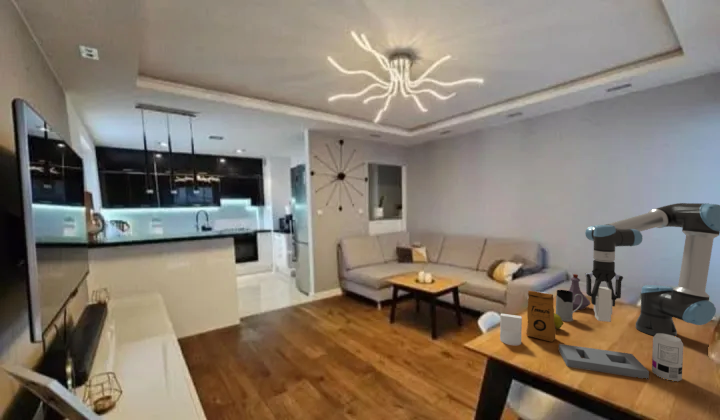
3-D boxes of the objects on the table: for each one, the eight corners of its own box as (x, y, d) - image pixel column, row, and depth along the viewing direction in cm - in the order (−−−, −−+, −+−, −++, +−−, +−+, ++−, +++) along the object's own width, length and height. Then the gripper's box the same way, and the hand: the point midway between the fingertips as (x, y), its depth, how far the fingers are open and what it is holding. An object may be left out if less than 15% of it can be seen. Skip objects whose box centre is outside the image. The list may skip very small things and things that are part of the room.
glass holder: (551, 315, 181) (552, 289, 180) (577, 315, 180) (577, 289, 179) (560, 321, 172) (561, 294, 171) (587, 321, 171) (588, 294, 171)
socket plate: (631, 360, 131) (631, 353, 131) (648, 379, 118) (649, 371, 117) (558, 350, 140) (558, 343, 140) (567, 366, 127) (567, 359, 127)
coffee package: (553, 345, 145) (554, 297, 144) (524, 337, 153) (524, 292, 152) (557, 337, 153) (558, 292, 152) (529, 330, 161) (529, 287, 160)
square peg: (606, 318, 142) (607, 287, 141) (610, 322, 138) (611, 290, 137) (594, 317, 143) (595, 286, 143) (598, 320, 139) (599, 289, 138)
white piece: (520, 338, 151) (521, 314, 151) (521, 346, 143) (522, 320, 143) (500, 335, 155) (500, 311, 155) (499, 343, 147) (500, 317, 146)
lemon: (566, 329, 161) (566, 314, 161) (559, 333, 157) (560, 317, 156) (543, 322, 170) (543, 308, 170) (536, 326, 165) (536, 311, 165)
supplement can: (645, 370, 123) (647, 333, 123) (665, 369, 124) (666, 332, 123) (667, 383, 115) (669, 342, 115) (688, 381, 116) (690, 341, 115)
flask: (566, 311, 187) (567, 277, 186) (554, 301, 203) (554, 271, 202) (597, 312, 184) (598, 278, 184) (582, 303, 201) (583, 272, 200)
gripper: (582, 260, 139) (581, 313, 140) (632, 263, 133) (631, 318, 134) (577, 257, 146) (577, 307, 147) (624, 259, 140) (623, 311, 141)
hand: (602, 312), depth 140 cm, fingers closed on square peg, 4 cm apart
